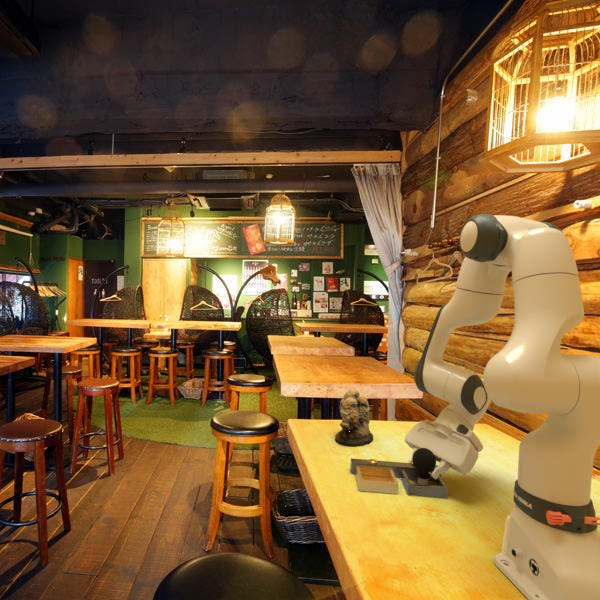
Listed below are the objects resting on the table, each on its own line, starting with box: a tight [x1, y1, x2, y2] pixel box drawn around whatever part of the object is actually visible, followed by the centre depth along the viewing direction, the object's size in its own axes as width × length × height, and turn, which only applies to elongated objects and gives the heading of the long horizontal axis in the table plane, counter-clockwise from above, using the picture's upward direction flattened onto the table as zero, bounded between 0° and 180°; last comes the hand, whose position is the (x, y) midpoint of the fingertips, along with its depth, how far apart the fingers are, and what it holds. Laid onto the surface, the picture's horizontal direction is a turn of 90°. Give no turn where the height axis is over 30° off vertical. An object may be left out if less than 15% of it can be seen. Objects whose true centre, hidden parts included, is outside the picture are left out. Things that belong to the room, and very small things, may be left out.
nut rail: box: [349, 457, 449, 499], centre depth 102 cm, size 13×24×3 cm, turn 87°
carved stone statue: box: [334, 389, 374, 448], centre depth 134 cm, size 18×12×17 cm, turn 149°
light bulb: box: [411, 448, 437, 485], centre depth 100 cm, size 6×6×10 cm
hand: (421, 470), depth 100 cm, fingers closed on light bulb, 6 cm apart
